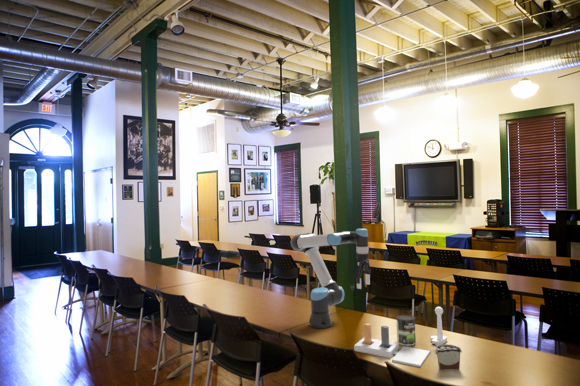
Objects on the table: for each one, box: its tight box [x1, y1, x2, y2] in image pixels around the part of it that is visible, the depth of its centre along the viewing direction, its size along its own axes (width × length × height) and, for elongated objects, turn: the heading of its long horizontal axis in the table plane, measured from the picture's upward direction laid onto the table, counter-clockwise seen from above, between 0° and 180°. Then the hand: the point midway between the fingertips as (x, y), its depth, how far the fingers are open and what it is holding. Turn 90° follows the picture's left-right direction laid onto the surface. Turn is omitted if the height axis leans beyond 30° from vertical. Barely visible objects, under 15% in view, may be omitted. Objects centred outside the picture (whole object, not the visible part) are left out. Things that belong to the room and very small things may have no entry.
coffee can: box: [395, 314, 417, 347], centre depth 220 cm, size 10×10×14 cm
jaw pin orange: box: [363, 322, 373, 345], centre depth 213 cm, size 4×4×13 cm
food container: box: [434, 343, 463, 372], centre depth 186 cm, size 12×6×10 cm, turn 92°
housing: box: [353, 337, 400, 359], centre depth 211 cm, size 20×14×3 cm
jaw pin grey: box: [380, 325, 390, 348], centre depth 208 cm, size 4×4×13 cm
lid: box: [391, 345, 431, 368], centre depth 200 cm, size 16×20×1 cm
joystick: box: [430, 306, 448, 347], centre depth 219 cm, size 11×8×20 cm
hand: (363, 286), depth 246 cm, fingers open, 13 cm apart
